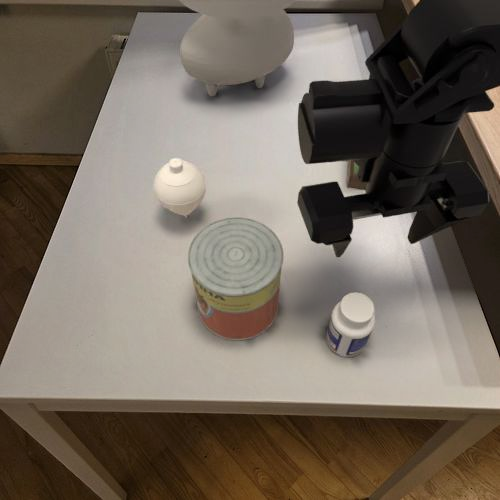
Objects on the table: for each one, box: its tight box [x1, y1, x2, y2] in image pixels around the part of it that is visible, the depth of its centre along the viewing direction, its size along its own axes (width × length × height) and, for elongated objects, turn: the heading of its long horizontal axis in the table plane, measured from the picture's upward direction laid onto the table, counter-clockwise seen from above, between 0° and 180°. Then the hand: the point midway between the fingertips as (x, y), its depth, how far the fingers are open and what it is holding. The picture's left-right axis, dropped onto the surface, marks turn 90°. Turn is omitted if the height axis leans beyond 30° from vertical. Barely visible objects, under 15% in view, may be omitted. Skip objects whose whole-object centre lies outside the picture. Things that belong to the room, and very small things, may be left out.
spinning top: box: [153, 157, 207, 219], centre depth 67 cm, size 8×8×12 cm
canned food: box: [187, 217, 284, 342], centre depth 58 cm, size 11×11×12 cm
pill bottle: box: [325, 292, 376, 358], centre depth 56 cm, size 5×5×9 cm
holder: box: [346, 160, 367, 191], centre depth 78 cm, size 8×15×3 cm, turn 171°
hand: (373, 247), depth 53 cm, fingers open, 9 cm apart
